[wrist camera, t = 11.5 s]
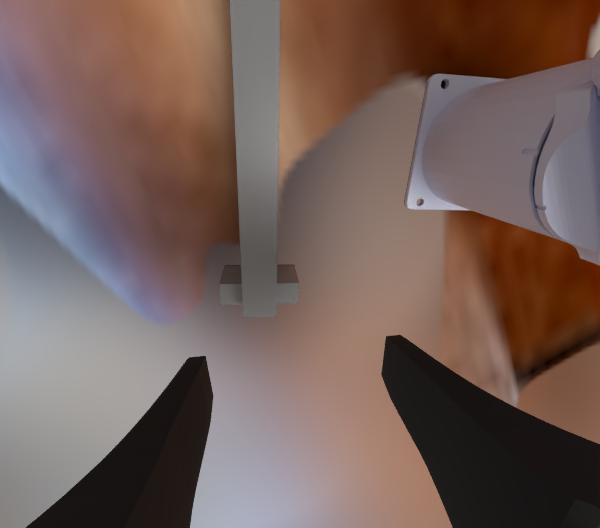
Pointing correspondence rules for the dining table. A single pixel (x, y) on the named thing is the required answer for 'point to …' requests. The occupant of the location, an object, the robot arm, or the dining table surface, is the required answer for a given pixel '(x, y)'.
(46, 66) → the dining table surface
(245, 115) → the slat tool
